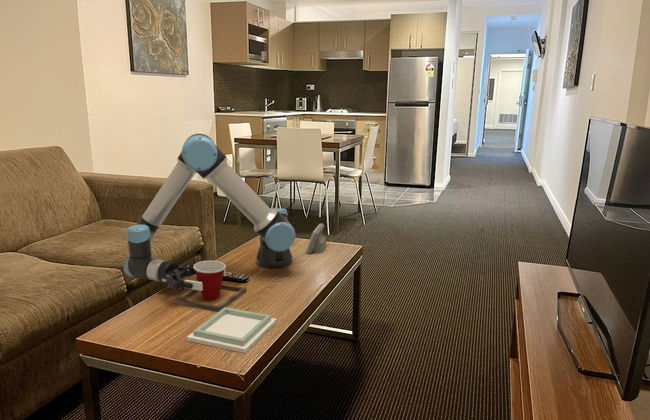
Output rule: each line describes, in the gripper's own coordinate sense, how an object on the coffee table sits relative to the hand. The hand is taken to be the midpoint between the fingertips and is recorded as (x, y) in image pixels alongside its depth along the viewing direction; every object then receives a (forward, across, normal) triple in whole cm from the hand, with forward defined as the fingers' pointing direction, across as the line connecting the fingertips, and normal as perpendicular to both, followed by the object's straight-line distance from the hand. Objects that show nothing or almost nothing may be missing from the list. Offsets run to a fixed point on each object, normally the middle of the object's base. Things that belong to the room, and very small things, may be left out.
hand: (213, 279), depth 157 cm
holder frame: (-1, 0, -7) cm, 7 cm away
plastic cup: (-1, 0, -7) cm, 7 cm away
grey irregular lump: (+12, -62, -7) cm, 64 cm away
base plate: (+18, +18, -7) cm, 27 cm away
